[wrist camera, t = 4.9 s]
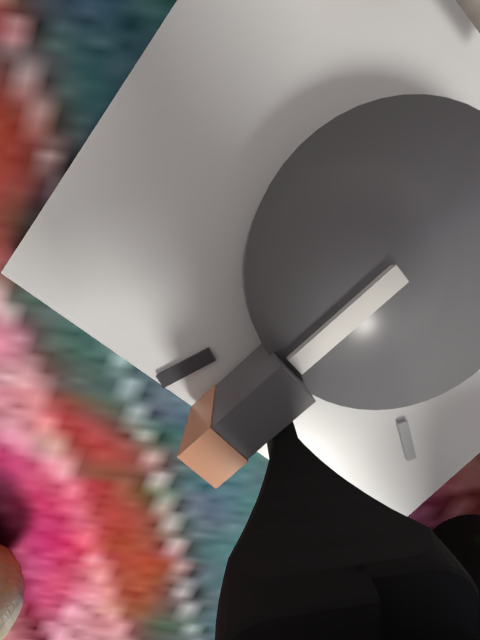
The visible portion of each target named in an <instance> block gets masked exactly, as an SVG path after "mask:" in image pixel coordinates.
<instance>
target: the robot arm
mask: <svg viewBox="0 0 480 640" xmlns="http://www.w3.org/2000/svg"><path fill="white" fill-rule="evenodd" d="M267 448H268V454H269V463H268V467H267V471H266V474H265V478H264V481H263V484H262V487H261V490H260V493H259V496H258V498H257V501H256V503H255V506H254V508H253V510H252V513H251V515H250V517H249V519H248V522H247V524H246V526H245V528H244V530H243V532H242V534H241V536H240V538H239V540H238V542H237V543H236V545H235V547H234V549H233V551H232V553H231V555H230V556H229V558H228V562H227V566H226V570H225V574H224V578H223V583H222V588H221V592H220V598H219V603H218V610H217V618H216V631H215V640H480V639H479V637H478V636H477V634H476V631H477V622H478V613H479V594H478V589H477V587H476V585H475V583H474V581H473V579H472V578H471V576H470V575H469V574H468V573H467V571H466V570H465V569H464V567H463V566H462V565H461V564H460V562H459V561H458V560H457V559H456V557H455V556H454V555H453V554H452V553H451V552H450V550H449V549H448V548H447V547H446V546H445V545H444V544H443V542H442V541H441V540H440V539H439V538H438V537H437V536H436V535H435V534H434V533H433V532H432V530H431V529H430V528H428V527H426V526H424V525H422V524H420V523H419V522H417V521H415V520H413V519H411V518H409V517H407V516H405V515H403V514H401V513H399V512H397V511H395V510H393V509H391V508H390V507H388V506H386V505H384V504H383V503H381V502H379V501H378V500H376V499H374V498H373V497H371V496H369V495H368V494H366V493H365V492H363V491H362V490H360V489H359V488H357V487H356V486H354V485H353V484H351V483H350V482H348V481H347V480H345V479H344V478H343V477H341V476H340V475H339V474H337V473H336V472H335V471H333V470H332V469H331V468H330V467H329V466H327V465H326V464H325V463H324V462H323V461H321V460H320V459H319V458H318V457H317V456H316V455H315V454H314V453H313V452H312V451H311V450H310V449H308V448H307V447H306V446H305V445H304V444H303V443H302V441H301V440H300V439H299V438H298V436H297V433H296V429H295V426H294V423H293V421H292V422H291V423H290V424H289V425H288V426H286V427H285V428H284V429H283V430H282V431H280V432H279V433H278V434H277V435H276V436H275V437H273V438H272V439H271V440H270V441H269V442H267Z"/></svg>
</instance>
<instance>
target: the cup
mask: <svg viewBox="0 0 480 640" xmlns="http://www.w3.org/2000/svg"><path fill="white" fill-rule="evenodd" d="M432 532H433V533H434V534H435V535H436V536H437V537H438V538H439V539H440V540H441V541H442V542H443V544H444V545H445V546H446V547H447V548H448V549H449V550H450V552H451V553H452V554H453V555H454V556H455V557H456V559H457V560H458V561H459V562H460V564H461V565H462V566H463V567H464V569H465V570H466V571H467V573H468V574H469V575H470V576H471V578H472V579H473V581H474V583H475V585H476V587H477V589H478V594H479V613H478V622H477V631H476V634H477V636H478V637H479V639H480V516H479V515H464V516H459V517H456V518H453V519H450V520H448V521H446V522H444V523H442V524H441V525H439V526H438V527H437V528H436V529H434V530H433V531H432Z"/></svg>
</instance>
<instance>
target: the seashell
mask: <svg viewBox="0 0 480 640" xmlns="http://www.w3.org/2000/svg"><path fill="white" fill-rule="evenodd" d="M23 599H24V578H23V575H22V571H21V566H20V564H19V562H18V561H17V560H16V558H15V556H14V555H13V553H12V551H11V550H10V549H8V548H6V547H5V546H3V545H1V544H0V640H4V638H5V637H6V635H7V634H8V632H9V631H10V629H11V627H12V626H13V624H14V622H15V620H16V618H17V616H18V614H19V612H20V610H21V607H22V604H23Z"/></svg>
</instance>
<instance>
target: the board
mask: <svg viewBox="0 0 480 640" xmlns="http://www.w3.org/2000/svg"><path fill="white" fill-rule="evenodd" d="M403 94H428V95H435V96H441V97H448V98H451V99H454V100H457V101H460V102H463V103H466V104H468V105H470V106H472V107H474V108H476V109H478V110H480V33H479V32H478V30H477V29H476V28H475V26H474V25H473V23H472V22H471V21H470V19H469V18H468V17H467V15H466V14H465V12H464V11H463V10H462V8H461V7H460V6H459V4H458V3H457V1H456V0H177V1H176V3H175V4H174V6H173V7H172V9H171V11H170V12H169V14H168V15H167V17H166V18H165V20H164V21H163V23H162V24H161V26H160V28H159V29H158V31H157V32H156V34H155V35H154V37H153V38H152V40H151V41H150V43H149V45H148V46H147V48H146V49H145V51H144V52H143V54H142V55H141V57H140V59H139V60H138V62H137V63H136V65H135V66H134V68H133V69H132V71H131V72H130V74H129V76H128V77H127V79H126V80H125V82H124V83H123V85H122V86H121V88H120V89H119V91H118V93H117V94H116V96H115V97H114V99H113V100H112V102H111V103H110V105H109V106H108V108H107V110H106V111H105V113H104V114H103V116H102V117H101V119H100V120H99V122H98V124H97V125H96V127H95V128H94V130H93V131H92V133H91V134H90V136H89V137H88V139H87V141H86V142H85V144H84V145H83V147H82V148H81V150H80V151H79V153H78V154H77V156H76V158H75V159H74V161H73V162H72V164H71V165H70V167H69V168H68V170H67V171H66V173H65V175H64V176H63V178H62V179H61V181H60V182H59V184H58V185H57V187H56V188H55V190H54V192H53V193H52V195H51V196H50V198H49V199H48V201H47V202H46V204H45V206H44V207H43V209H42V210H41V212H40V213H39V215H38V216H37V218H36V219H35V221H34V223H33V224H32V226H31V227H30V229H29V230H28V232H27V233H26V235H25V236H24V238H23V240H22V241H21V243H20V244H19V246H18V247H17V249H16V250H15V252H14V253H13V255H12V257H11V258H10V260H9V261H8V263H7V264H6V266H5V267H4V269H3V271H2V272H1V273H2V274H3V275H5V276H6V277H8V278H9V279H10V280H12V281H13V282H15V283H16V284H18V285H19V286H20V287H22V288H23V289H25V290H26V291H28V292H29V293H30V294H32V295H33V296H35V297H36V298H38V299H39V300H41V301H42V302H43V303H45V304H46V305H48V306H49V307H51V308H52V309H53V310H55V311H56V312H58V313H59V314H61V315H62V316H63V317H65V318H66V319H68V320H69V321H71V322H72V323H74V324H75V325H76V326H78V327H79V328H81V329H82V330H84V331H85V332H86V333H88V334H89V335H91V336H92V337H94V338H95V339H96V340H98V341H99V342H101V343H102V344H104V345H105V346H107V347H108V348H109V349H111V350H112V351H114V352H115V353H117V354H118V355H119V356H121V357H122V358H124V359H125V360H127V361H128V362H129V363H131V364H132V365H134V366H135V367H137V368H138V369H140V370H141V371H142V372H144V373H145V374H147V375H148V376H150V377H151V378H152V379H154V380H155V381H157V382H158V383H160V384H161V385H162V387H163V388H167V389H168V390H170V391H171V392H172V393H174V394H175V395H177V396H178V397H180V398H181V399H183V400H184V401H185V402H187V403H188V404H190V405H191V406H192V405H193V404H194V403H195V402H196V401H198V400H199V399H200V398H201V397H202V396H203V395H204V394H205V393H206V392H207V391H209V390H210V389H211V388H212V387H213V386H214V385H215V384H216V385H217V384H218V383H219V382H220V381H222V380H223V379H224V378H225V377H226V376H227V375H228V374H229V373H230V372H231V371H233V370H234V369H235V368H236V367H237V366H238V365H239V364H240V363H241V362H242V361H243V360H245V359H246V358H247V357H248V356H249V355H250V354H251V353H252V352H253V351H254V350H256V349H257V348H258V347H259V346H260V345H261V344H262V343H261V341H260V339H259V336H258V334H257V332H256V330H255V328H254V326H253V323H252V321H251V319H250V316H249V313H248V309H247V306H246V303H245V297H244V291H243V279H242V265H243V254H244V248H245V244H246V239H247V235H248V232H249V229H250V226H251V223H252V221H253V218H254V215H255V213H256V211H257V209H258V207H259V204H260V202H261V200H262V198H263V196H264V194H265V192H266V190H267V188H268V186H269V184H270V183H271V181H272V180H273V178H274V177H275V175H276V174H277V172H278V171H279V169H280V168H281V166H282V165H283V164H284V162H285V161H286V160H287V159H288V158H289V157H290V155H291V154H292V153H293V152H294V151H295V150H296V149H297V147H298V146H299V145H300V144H301V143H303V142H304V141H305V140H306V139H307V138H308V137H309V136H310V135H312V134H313V133H314V132H315V131H316V130H317V129H319V128H320V127H322V126H323V125H325V124H326V123H328V122H329V121H331V120H332V119H333V118H335V117H336V116H338V115H340V114H342V113H344V112H346V111H348V110H350V109H352V108H354V107H356V106H359V105H362V104H365V103H368V102H371V101H374V100H377V99H380V98H385V97H391V96H397V95H403ZM312 396H313V397H314V399H315V400H316V402H315V403H314V404H312V405H311V406H310V407H309V408H308V409H306V410H305V411H304V412H303V413H302V414H301V415H299V416H298V417H297V418H296V419H295V420H293V423H294V426H295V429H296V433H297V436H298V438H299V439H300V440H301V441H302V443H303V444H304V445H305V446H306V447H307V448H308V449H310V450H311V451H312V452H313V453H314V454H315V455H316V456H317V457H318V458H319V459H320V460H321V461H323V462H324V463H325V464H326V465H327V466H329V467H330V468H331V469H332V470H333V471H335V472H336V473H337V474H339V475H340V476H341V477H343V478H344V479H345V480H347V481H348V482H350V483H351V484H353V485H354V486H356V487H357V488H359V489H360V490H362V491H363V492H365V493H366V494H368V495H369V496H371V497H373V498H374V499H376V500H378V501H379V502H381V503H383V504H384V505H386V506H388V507H390V508H391V509H393V510H395V511H397V512H399V513H401V514H403V515H405V516H407V517H408V516H409V515H410V514H411V513H412V512H413V511H414V510H415V509H417V508H418V507H419V506H420V505H421V504H422V503H423V502H424V501H426V500H427V499H428V498H429V497H430V496H431V495H432V494H434V493H435V492H436V491H437V490H438V489H439V488H440V487H441V486H443V485H444V484H445V483H446V482H447V481H448V480H449V479H450V478H452V477H453V476H454V475H455V474H456V473H457V472H458V471H459V470H461V469H462V468H463V467H464V466H465V465H466V464H467V463H469V462H470V461H471V460H472V459H473V458H474V457H475V456H476V455H478V454H479V453H480V369H479V370H478V371H477V372H476V373H475V374H474V375H472V376H471V377H469V378H468V379H467V380H465V381H464V382H462V383H461V384H459V385H458V386H456V387H454V388H452V389H451V390H449V391H447V392H445V393H443V394H441V395H439V396H437V397H434V398H432V399H430V400H427V401H424V402H421V403H418V404H414V405H411V406H407V407H401V408H396V409H386V410H363V409H354V408H349V407H343V406H339V405H336V404H333V403H330V402H327V401H325V400H322V399H320V398H318V397H316V396H314V395H312ZM257 452H259V453H260V454H261V455H263V456H264V457H266V458H267V459H269V454H268V448H267V443H266V444H265V445H264V446H263V447H261V448H260V449H259V450H258V451H257Z"/></svg>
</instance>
